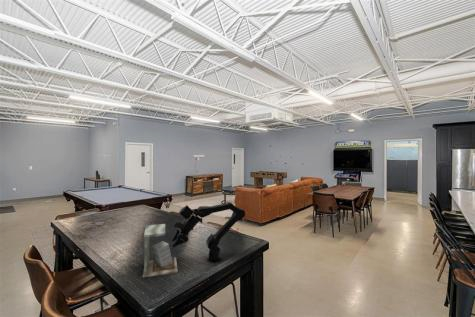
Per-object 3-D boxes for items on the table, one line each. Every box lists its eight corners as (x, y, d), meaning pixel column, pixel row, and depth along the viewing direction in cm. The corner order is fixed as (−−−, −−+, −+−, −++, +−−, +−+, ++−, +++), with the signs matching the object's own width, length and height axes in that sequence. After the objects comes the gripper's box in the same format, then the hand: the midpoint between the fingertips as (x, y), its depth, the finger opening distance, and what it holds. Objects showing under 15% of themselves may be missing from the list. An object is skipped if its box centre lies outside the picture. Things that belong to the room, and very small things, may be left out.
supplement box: (155, 265, 137) (151, 246, 135) (167, 258, 142) (162, 240, 140) (161, 269, 132) (157, 249, 129) (173, 262, 137) (168, 243, 135)
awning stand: (176, 258, 147) (175, 222, 147) (177, 272, 130) (177, 232, 130) (145, 262, 142) (145, 225, 141) (142, 277, 125) (142, 235, 124)
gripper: (180, 211, 148) (162, 230, 145) (182, 219, 130) (162, 241, 127) (192, 222, 150) (175, 241, 147) (196, 231, 133) (177, 253, 130)
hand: (172, 243), depth 138 cm, fingers open, 9 cm apart
